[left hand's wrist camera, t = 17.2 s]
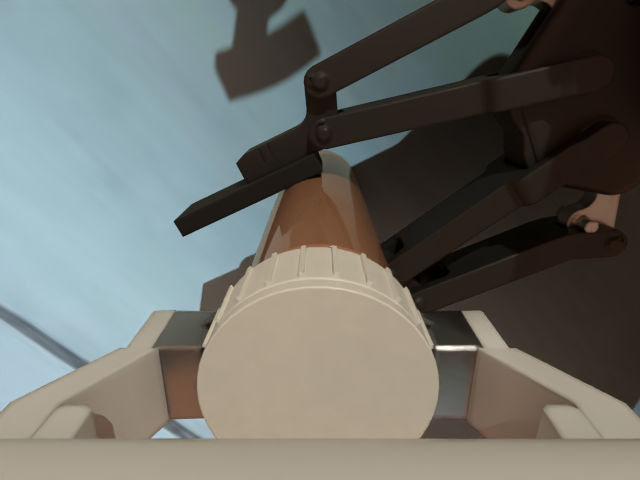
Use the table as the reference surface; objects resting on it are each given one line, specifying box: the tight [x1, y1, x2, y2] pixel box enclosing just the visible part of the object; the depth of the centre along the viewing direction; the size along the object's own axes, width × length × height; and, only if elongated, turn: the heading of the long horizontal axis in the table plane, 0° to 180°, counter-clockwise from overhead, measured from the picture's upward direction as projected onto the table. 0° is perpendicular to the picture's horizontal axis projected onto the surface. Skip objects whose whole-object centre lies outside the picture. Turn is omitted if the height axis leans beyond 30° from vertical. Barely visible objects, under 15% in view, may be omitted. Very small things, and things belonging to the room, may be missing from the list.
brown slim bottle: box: [251, 150, 392, 273], centre depth 17 cm, size 4×4×17 cm
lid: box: [197, 245, 439, 439], centre depth 9 cm, size 5×5×2 cm
